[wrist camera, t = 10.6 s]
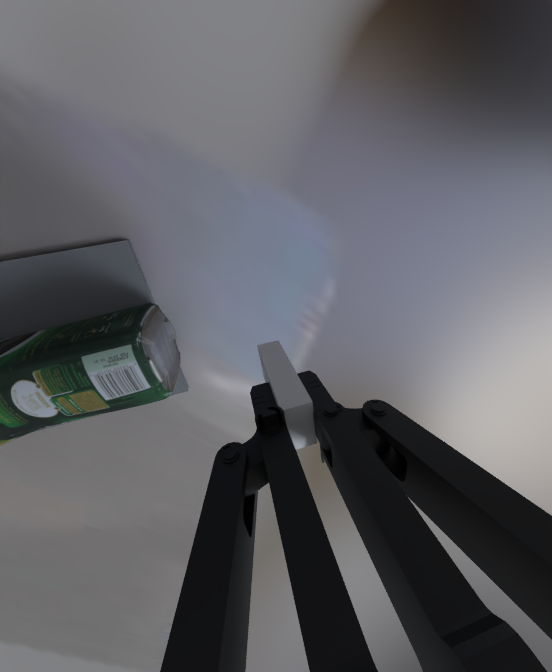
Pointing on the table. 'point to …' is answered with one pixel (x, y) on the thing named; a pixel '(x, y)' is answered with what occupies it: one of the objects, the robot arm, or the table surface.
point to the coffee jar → (86, 369)
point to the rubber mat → (71, 290)
